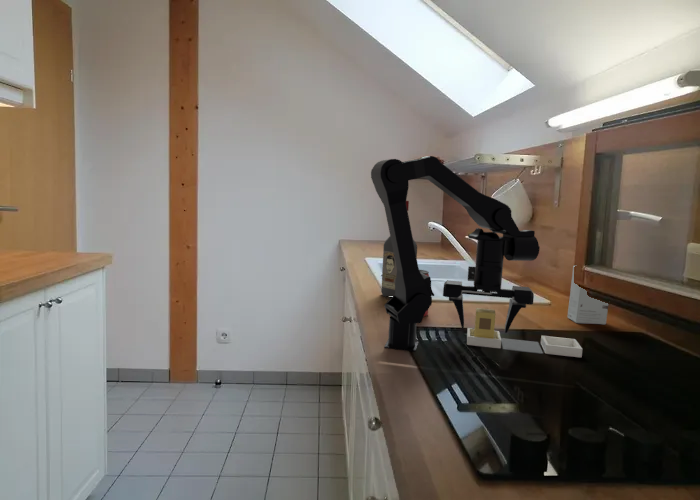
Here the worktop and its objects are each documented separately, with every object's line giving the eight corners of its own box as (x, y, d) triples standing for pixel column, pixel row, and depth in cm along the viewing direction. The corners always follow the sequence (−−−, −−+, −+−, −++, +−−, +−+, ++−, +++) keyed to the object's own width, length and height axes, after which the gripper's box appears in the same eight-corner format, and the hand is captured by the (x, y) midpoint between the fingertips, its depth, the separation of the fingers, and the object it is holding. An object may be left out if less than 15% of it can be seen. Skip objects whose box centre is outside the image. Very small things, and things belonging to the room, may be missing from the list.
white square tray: (581, 359, 99) (582, 348, 99) (545, 355, 101) (546, 344, 101) (574, 348, 106) (575, 339, 106) (540, 345, 108) (541, 335, 108)
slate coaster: (543, 355, 101) (543, 353, 101) (503, 351, 103) (503, 348, 102) (537, 344, 108) (537, 342, 108) (500, 340, 110) (500, 338, 110)
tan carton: (492, 345, 105) (495, 313, 104) (474, 343, 106) (476, 312, 105) (492, 339, 109) (494, 309, 108) (473, 337, 110) (476, 307, 109)
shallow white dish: (500, 350, 103) (501, 340, 103) (466, 346, 105) (467, 336, 104) (498, 340, 110) (499, 331, 110) (466, 337, 112) (467, 327, 111)
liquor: (395, 291, 159) (400, 200, 155) (417, 296, 153) (423, 201, 149) (377, 295, 152) (382, 199, 149) (400, 300, 146) (405, 201, 143)
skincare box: (576, 323, 128) (581, 268, 126) (566, 317, 134) (571, 264, 132) (607, 325, 128) (614, 269, 126) (596, 319, 134) (602, 266, 132)
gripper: (530, 258, 111) (524, 325, 113) (447, 253, 115) (443, 316, 117) (536, 265, 100) (530, 338, 102) (445, 259, 104) (440, 329, 106)
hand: (484, 330), depth 107 cm, fingers open, 9 cm apart
